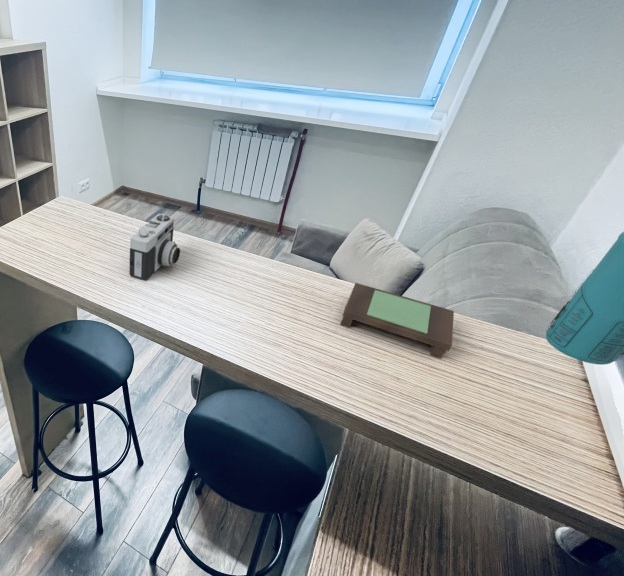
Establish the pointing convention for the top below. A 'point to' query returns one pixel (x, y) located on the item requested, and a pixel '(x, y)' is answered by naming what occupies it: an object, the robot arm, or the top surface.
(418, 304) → the shelf
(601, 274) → the beverage bottle
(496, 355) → the top surface
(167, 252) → the camera
